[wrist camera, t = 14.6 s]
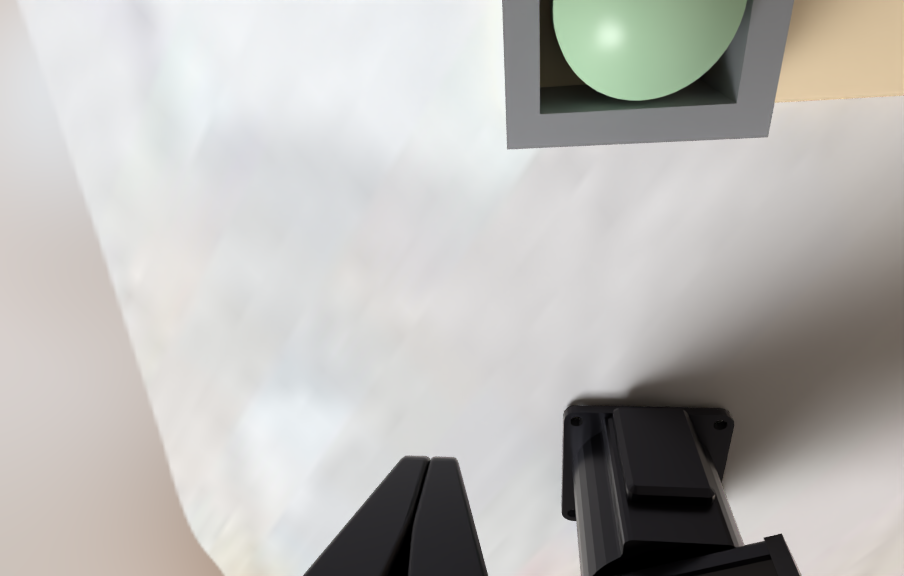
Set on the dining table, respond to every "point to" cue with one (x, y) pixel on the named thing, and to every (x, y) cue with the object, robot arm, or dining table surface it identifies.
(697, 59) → the button
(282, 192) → the dining table surface
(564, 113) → the button housing
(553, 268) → the dining table surface
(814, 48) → the picture board
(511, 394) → the dining table surface
